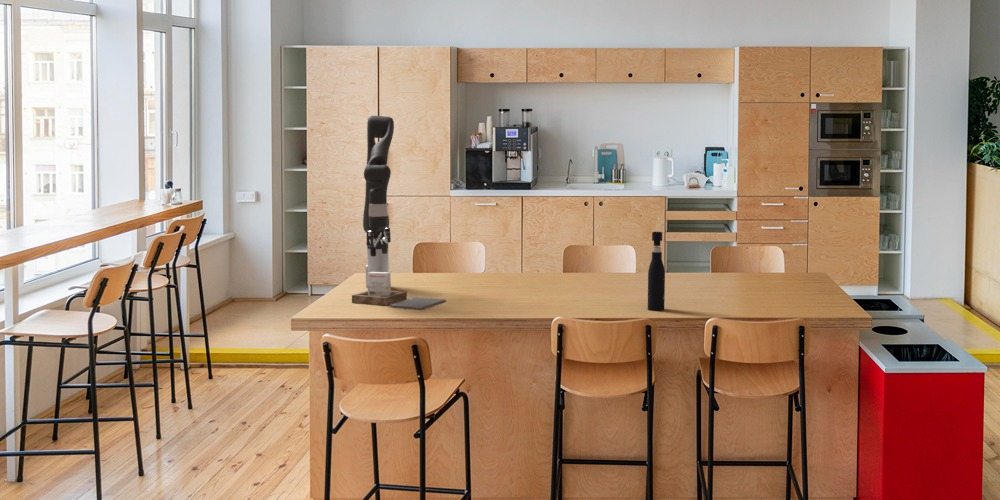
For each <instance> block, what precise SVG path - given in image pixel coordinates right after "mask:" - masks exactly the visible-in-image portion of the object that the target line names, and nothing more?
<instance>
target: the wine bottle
mask: <svg viewBox="0 0 1000 500" xmlns="http://www.w3.org/2000/svg"><path fill="white" fill-rule="evenodd" d="M651 241H652V242H653V247H652V252H651V261H650V263H649V266H648V272H647V274H648V275H647V310H648V311H653V312H660V311H661V312H662V311H664V310H665V300H666V299H665V298H666V297H665V295H666V294H665V291H666V290H665V288H666V287H665V286H666V284H665V283H666V271H665V266H664V262H663V258H662V257H663V252H662V247H661V242H662V241H663V232H662V231H652V232H651Z"/></svg>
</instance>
